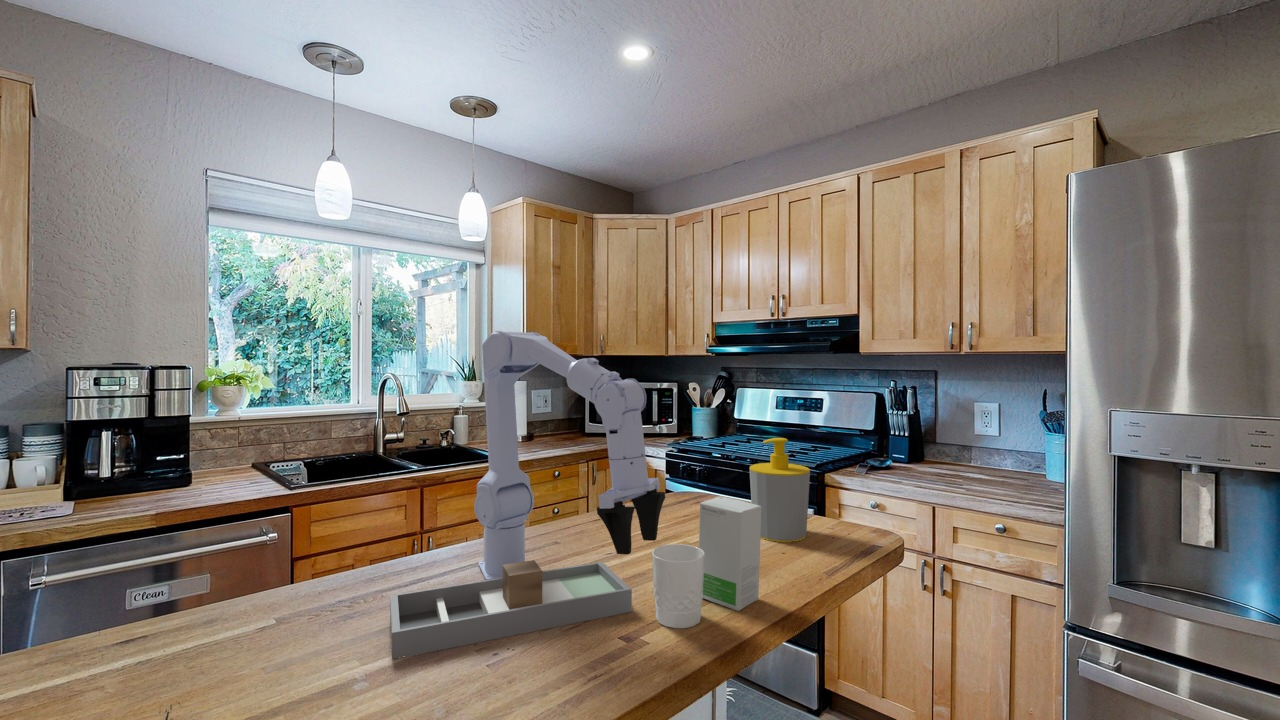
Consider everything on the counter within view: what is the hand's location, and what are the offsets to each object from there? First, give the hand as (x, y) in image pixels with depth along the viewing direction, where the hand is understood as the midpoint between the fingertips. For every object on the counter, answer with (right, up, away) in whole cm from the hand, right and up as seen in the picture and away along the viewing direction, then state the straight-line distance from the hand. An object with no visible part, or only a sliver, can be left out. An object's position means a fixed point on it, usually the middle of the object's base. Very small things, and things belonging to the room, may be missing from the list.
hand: (637, 546), depth 88 cm
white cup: (+6, -11, -1) cm, 12 cm away
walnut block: (-18, -8, 0) cm, 20 cm away
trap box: (-19, -10, 0) cm, 22 cm away
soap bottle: (+31, -10, +40) cm, 52 cm away
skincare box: (+15, -11, +6) cm, 19 cm away
